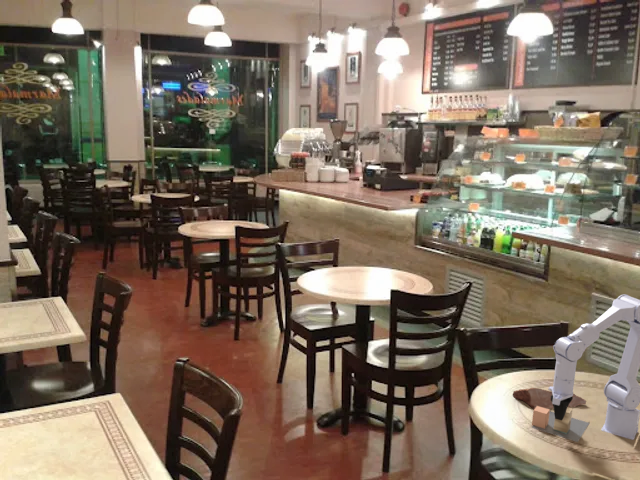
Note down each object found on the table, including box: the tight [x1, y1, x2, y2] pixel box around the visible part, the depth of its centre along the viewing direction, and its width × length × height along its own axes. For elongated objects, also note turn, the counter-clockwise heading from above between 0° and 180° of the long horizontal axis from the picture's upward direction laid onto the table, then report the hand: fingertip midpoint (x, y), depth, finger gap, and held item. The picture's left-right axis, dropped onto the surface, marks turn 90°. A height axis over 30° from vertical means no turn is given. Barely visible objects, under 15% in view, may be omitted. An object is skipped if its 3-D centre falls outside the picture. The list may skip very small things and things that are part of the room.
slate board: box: [531, 410, 590, 443], centre depth 200 cm, size 14×16×1 cm
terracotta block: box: [531, 406, 551, 429], centre depth 199 cm, size 4×4×5 cm
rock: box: [512, 387, 587, 410], centre depth 217 cm, size 10×24×10 cm
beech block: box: [554, 407, 573, 434], centre depth 196 cm, size 4×4×7 cm
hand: (559, 418), depth 191 cm, fingers closed
